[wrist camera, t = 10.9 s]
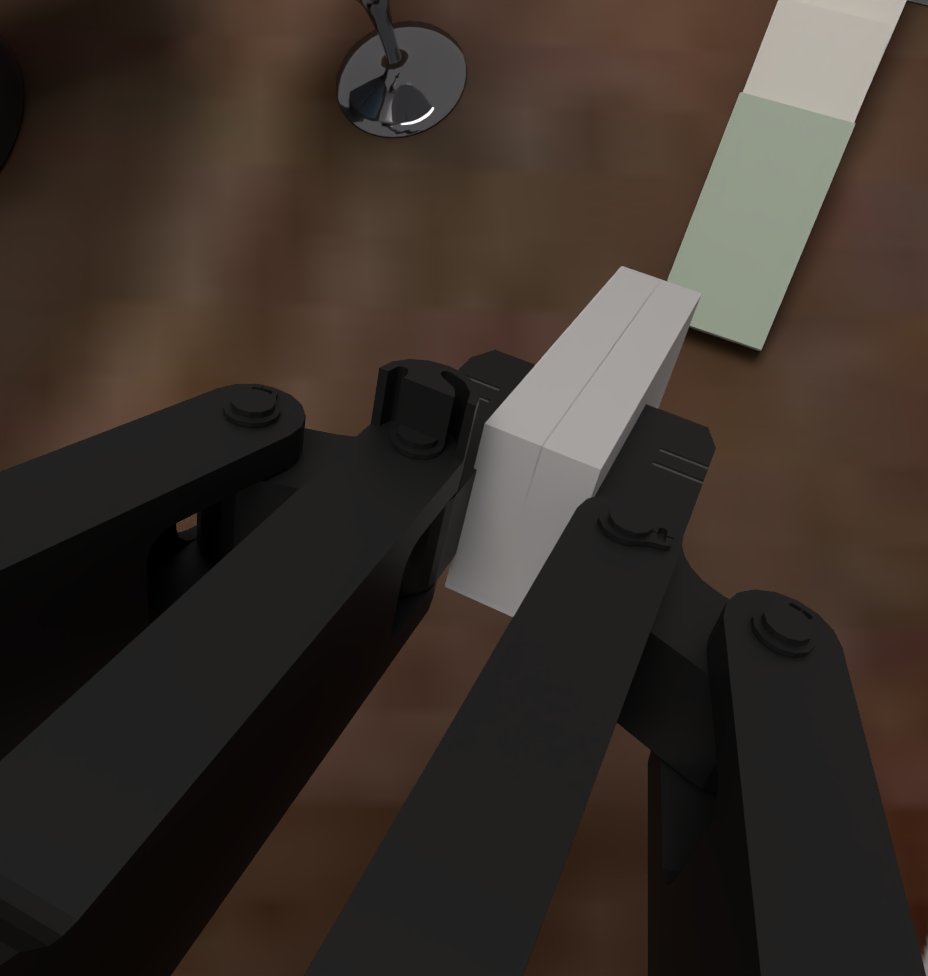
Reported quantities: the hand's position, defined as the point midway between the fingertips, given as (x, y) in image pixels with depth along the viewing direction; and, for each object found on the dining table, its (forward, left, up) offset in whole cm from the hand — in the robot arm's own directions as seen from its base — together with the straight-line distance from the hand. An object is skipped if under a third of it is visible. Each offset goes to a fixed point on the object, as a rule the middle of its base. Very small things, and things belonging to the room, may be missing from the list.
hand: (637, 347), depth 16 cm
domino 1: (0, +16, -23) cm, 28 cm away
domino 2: (0, +11, -23) cm, 26 cm away
